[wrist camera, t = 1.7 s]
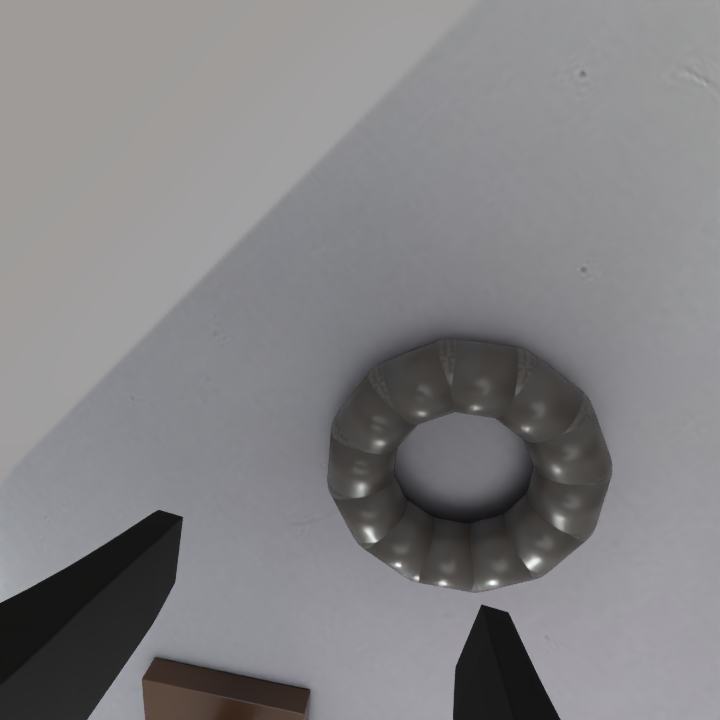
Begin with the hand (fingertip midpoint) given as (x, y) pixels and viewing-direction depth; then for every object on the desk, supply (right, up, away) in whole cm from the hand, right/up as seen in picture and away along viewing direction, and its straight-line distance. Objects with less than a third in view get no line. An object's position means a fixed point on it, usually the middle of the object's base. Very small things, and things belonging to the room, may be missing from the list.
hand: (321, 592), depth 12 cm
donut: (+5, +1, +6) cm, 8 cm away
